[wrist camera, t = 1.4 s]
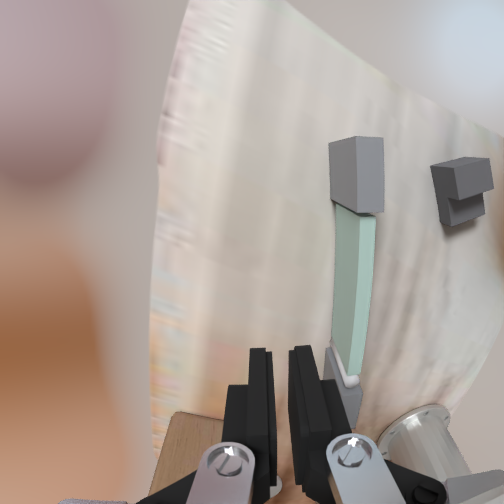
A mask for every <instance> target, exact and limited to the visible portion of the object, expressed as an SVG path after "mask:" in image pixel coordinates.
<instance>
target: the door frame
mask: <svg viewBox="0 0 504 504" xmlns="http://www.w3.org/2000/svg"><path fill="white" fill-rule="evenodd" d="M329 163H330V199H332V200H334V201H336V202H338V203H340V204H342V205H344V206H345V207H347V208H349V209H351V210H353V211H355V212H357V213H371V212H384V145H383V138H381V137H362V136H355V137H351V138H347V139H343V140H339V141H335V142H331V143H329ZM327 379H335V381H336V383H337V386H338V389H339V392H340V395H341V399H342V402H343V405H344V408H345V412H346V415H347V418H348V421H349V425H350V428H351V429H354V428H355V426H356V422H357V418H358V414H359V410H360V405H361V401H362V396H363V392H362V389H361V387H360V385H359V384H358V386H356V387H354V388H347V387H346V386H345V384H344V381H343V378H342V375H341V373H340V370H339V367H338V364H337V361H336V359H335V356H334V353H333V350H332V348H326V353H325V365H324V376H323V380H327Z"/></svg>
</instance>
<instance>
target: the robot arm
mask: <svg viewBox="0 0 504 504" xmlns="http://www.w3.org/2000/svg"><path fill="white" fill-rule="evenodd" d="M288 414H289V423H290V433H291V443H292V453H293V464H294V474H295V484H296V485H302V492H306V496H307V497H309V498H311V499H312V500H314V501H315V502H316V504H504V471H503V470H491V471H487V472H482V473H477V474H472V473H471V471H470V469H469V467H468V465H467V463H466V461H465V460H464V458H463V456H462V454H461V452H460V451H459V449H458V447H457V445H456V443H455V442H454V440H453V438H452V436H451V435H450V433H449V431H448V430H447V427H448V425H449V423H450V413H449V412H448V410H447V409H446V408H445V407H444V406H442V405H438V404H433V405H426V406H422V407H420V408H417V409H415V410H412V411H410V412H408V413H407V414H405V415H403V416H401V417H400V418H399V419H397V420H396V421H394V422H393V423H392V424H391V425H390V426H389V427H388V428H387V429H386V430H385V431H384V432H383V433H382V435H381V436H380V438H379V440H378V443H377V446H376V444H375V443H374V442H373V440H371V439H370V438H368V437H367V436H364V435H361V434H354V433H352V431H351V428H350V425H349V421H348V418H347V415H346V412H345V408H344V405H343V402H342V399H341V395H340V392H339V389H338V386H337V383H336V381H335V379H327V380H320V379H319V375H318V371H317V367H316V364H315V360H314V356H313V352H312V348H311V345H304V346H295V348H294V350H290V351H289V378H288ZM383 458H384V459H383ZM385 459H387V460H385ZM388 460H392V462H390V461H388ZM274 486H277V428H276V411H275V394H274V378H273V362H272V352H266V348H250V358H249V380H248V385H229V386H228V392H227V399H226V407H225V415H224V423H223V431H222V439H221V443H218V444H215V445H213V446H211V447H210V448H208V449H207V450H206V451H205V452H204V454H203V456H202V457H201V460H200V463H199V466H198V469H197V470H195V471H194V472H192V473H190V474H189V475H187V476H185V477H183V478H182V479H180V480H178V481H176V482H175V483H173V484H171V485H169V486H167V487H165V488H163V489H162V490H160V491H158V492H156V493H154V494H152V495H150V496H148V497H146V498H144V499H142V500H140V501H139V502H137V503H136V504H264V503H265V502H266V501H267V500H269V499H270V487H274ZM58 504H128V503H127V502H126V501H98V500H83V499H65V500H63V501H60V502H59V503H58Z"/></svg>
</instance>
